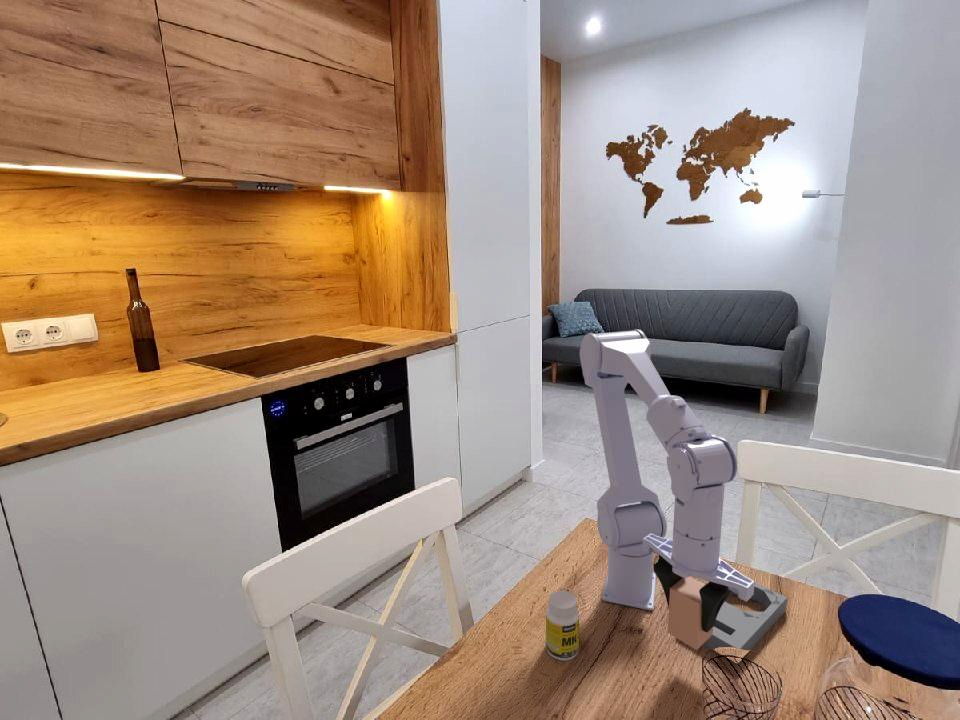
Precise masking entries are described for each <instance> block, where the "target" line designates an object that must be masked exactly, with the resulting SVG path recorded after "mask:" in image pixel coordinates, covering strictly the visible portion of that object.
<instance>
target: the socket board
mask: <svg viewBox="0 0 960 720" xmlns="http://www.w3.org/2000/svg"><path fill="white" fill-rule="evenodd" d="M729 596H738V594H737V593H735V592H733V591H732V592H731V593H730V594H729ZM750 599H751V600H753V601H755V602H757V603H759V604H762V606H763V607H764V609H765V610H763V611H749V610H747V611H746V610H742V609H740V608H738V607H736V606H734V605H733V604H730V603H728V602H727V601H725V602H724V603H723V605H722V607H721V609H720V611H719V613H718V615H717V618H716V621H715V624H714V627H713V635H712V636H711V637H710V638H708V639H707V640H706V641H705V642H704V643H703V644H702V646H705V647H706V648H708V649H710V650H711V651H713V649H715V648H718V647H734V648H739V649H743V650H751V651H752V650H753V649H754V648H755V646H757V645H758V643H759V642H760V641H761V640H762V639H763V638H764V637H765V635H766V634H767V633H768V632H769V631H770V630H771V629H772V628H773V626H774V625H775V624H776V623H777V622H778V621H779V619H780V618H781V617H782V616H783V615H784V614H785V613H786V612H787V605H788V604H787V602H788V597H787V596H785V595H783V594H781V593H779V592H777V591H774V590H771V589H769V588H767V587H766V586H763V585H761V584H759V583H758V582H755V585H754V595H753V596H752V597H751V598H750Z"/></svg>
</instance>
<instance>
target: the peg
mask: <svg viewBox="0 0 960 720" xmlns="http://www.w3.org/2000/svg"><path fill="white" fill-rule="evenodd" d="M706 584H707V583H703V582H701V581H699V580H698V579H695V577H692V576H689V577H687V578H682V579H681V580H680V581H679V582H677V583H676V584H675V585H673V586H672V587H671V588H670V599H669V608H668V618H667V619H668V620H667V622H668V623H667V634H669V635H671V637H672V636H673V637H674V638H675V639H677V640H679V641H681V642H682V643H684V644H686V645H688V646H689V647H691V648H692V649H694V650H695V651H698V650H699V648H700V647H701V646H703V643H704V642H705V641H706V640H707V639H708V638H710V637H711V636H712V635H713V627H712V628H711V629H710V630H709V631H708V632H704V631H703V630H702V625H701V621H702V602H701V597H700V593H699V590H700V589H701V588H702V587H703V586H704V585H706Z"/></svg>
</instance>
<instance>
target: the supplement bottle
mask: <svg viewBox="0 0 960 720" xmlns="http://www.w3.org/2000/svg"><path fill="white" fill-rule="evenodd" d="M545 648H546V651H547V654H548V655H550V657H552V658H554V659H556V660H558V661H562V662H563V661H565V662H566V661H570V660H573V659H574V658H575V657H576V656H577V655H578V653H579V651H580V613H579V609H578V600H577V597H576V595H574V594H573V593H572V592H570V591H567V590H564V589H563V590H561V589H560V590H555V591H553V592H551V593H550V594H549V596H548V606H547V608H546V610H545Z"/></svg>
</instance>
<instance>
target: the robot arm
mask: <svg viewBox="0 0 960 720" xmlns="http://www.w3.org/2000/svg"><path fill="white" fill-rule="evenodd" d="M651 347H652V346H651V342H650V341H649V339H648V337H647V336H646V334H645V333H644V331H642V330H641V329H637V328H636V329H632V330H625V331H613V332H611V331H610V332H601V333H592V332H588V333H586V334H585V335H584V337H583V339H582V340H581V344H580V347H579V348H580V349H579V360H580V365H581V370H582V377H583V379H584V385H586V386H588V387H590V388H592V390H593V391H592V392H593V396H594V401H595V407H596V412H597V413H596V414H597V419H598V425H599V429H600V434H601V435H600V436H601V441H602V447H603V453H604V457H605V463H606V468H607V473H608V474H607V475H608V480H609V485H610V486H609V487H608V488H607V489H606V491H605V492H604V493H603V494H602V495H601V496H600V497H599V498H598V499H597V502H596V506H597V507H596V508H597V509H596V510H597V519H596V525H597V529H598V530H597V532H598V534H599V537H600V539H601V541H602V543H603V544H604V545H605V546H606V547H607V549H608V550H607V551H608V552H607V574H606V579H605V584H604V588H603V592H602V595H601V596H602V597H601V599H602V601H604V602H608V603H613V604H617V605H623V606H628V607H632V608H633V607H634V608H638V609H642V610H647V611H653V610H654V608H655V607H654V605H655V604H654V603H655V590H656V578H658V580H659V582H660V584H661V587H662V589H663V592H664V594H665V595H664V596H665V599H666V604H667V607H668V608H667V609H669V599H670V588H671V587H672V586H673V585H675V584H676V583H677V582H679V581H680V580H681V579H682V578H687V577H689V576H690V577H692V578H697V579H700V580H703V581H707V583H705V584H706V585H704V586H703V587H702V588H701V589H700V590H699V593H700V597H701V602H702V621H701V625H702V630H703V631H704V632H708V631H709V630H710V629H711V628H712V627H714V624H715V621H716V618H717V615H718V613H719V611H720V609H721V607H722V605H723V603H724V602H726V600H727V599H728V597H729V596H730V595H729V594H730V593H731V592H732V591H733V592H735V593H737V594H738V595H737V597H738V598H739V599H740V600H741V601H744V602H748V601H749V600H750V599H751V597H752V596H753V595H754V585H755V583H756V582H755V581H754V580H753V579H751V578H750V577H748V576H746V575H744V574H742V573H741V572H739V571H738V570H737V569H736V568H734V567H733V566H732V565H730V564H729V563H727V562H726V561H725V560H724V559H722V558H721V557H720V550H721V537H722V535H721V534H722V524H723V510H724V501H725V500H724V498H725V484H727V483H730V482H732V481H734V479H735V478H736V475H737V473H738V460H737V457H736V454H735V451H734V449H733V447H732V446H731V445H730V443H729V441H728V440H727V439H726V438H724V437H722V436H718V435H716V434H715V433H714V432H713V431H707V429H706V428H705V427H704V425H703V424H702V423H701V421H700V420H699V418H698V417H697V416H696V414H695V413H694V412H693V410H692V409H691V407H690V406H689V405H688V403H687V402H686V401H685V399H684V398H682V396H680V395H679V396H678V395H671V393H670V391H669V390H668V388H667V386H666V385H665V383H664V381H663V379H662V378H661V376H660V374H659V372H658V371H657V368H656V366H655V365H654V364H653V361H652V360H651V357H652V349H651ZM628 384H630V386H631V388H633V390H634V391H635V392H636V394H637V395H638V396H639V398H640V399H641V401H643V403H644V404H645V405H646V406H647V408H648V410H647V412H646V415H645V416H646V417H645V418H646V421H647V423H648V425H650V427H651V429H652V431H653V432H654V434H655V436H656V437H657V439H658V440H659V442H660V444H661V445H662V447H663V448H664V450H665V451H666V453H667V455H668V456H666V465H667V470H668V474H669V477H670V482H671V483H670V489H671V492H672V493H671V494H673V496H674V497H675V498H674V509H673V513H674V514H673V527H672V529H673V530H672V539H669V538H666V535H667V531H668V522H667V517H666V514H665V512H664V510H663V508H662V506H661V503H660V500H659V496H658V494H657V493H656V492H655V491H653V490H651V489H650V488H648V487H647V486H645V485H643V484H642V478H641V473H640V468H639V462H638V457H637V453H636V452H637V451H636V448H635V441H634V438H633V437H634V436H633V432H632V426H631V425H632V424H631V421H630V416H629V410H628V405H627V400H626V395H625V389H626V387H627V385H628ZM654 555H658V559H657V562H655V563H654Z"/></svg>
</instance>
